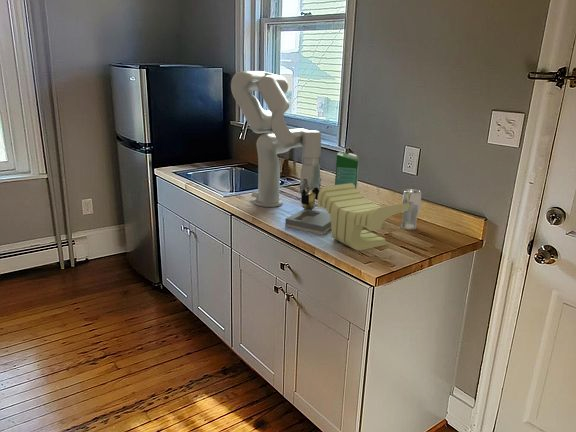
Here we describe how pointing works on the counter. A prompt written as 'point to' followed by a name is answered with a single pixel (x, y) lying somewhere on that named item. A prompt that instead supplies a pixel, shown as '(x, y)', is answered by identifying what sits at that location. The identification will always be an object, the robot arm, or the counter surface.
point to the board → (309, 221)
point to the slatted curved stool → (355, 215)
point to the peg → (310, 202)
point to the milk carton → (346, 169)
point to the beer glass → (411, 208)
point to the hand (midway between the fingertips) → (310, 201)
